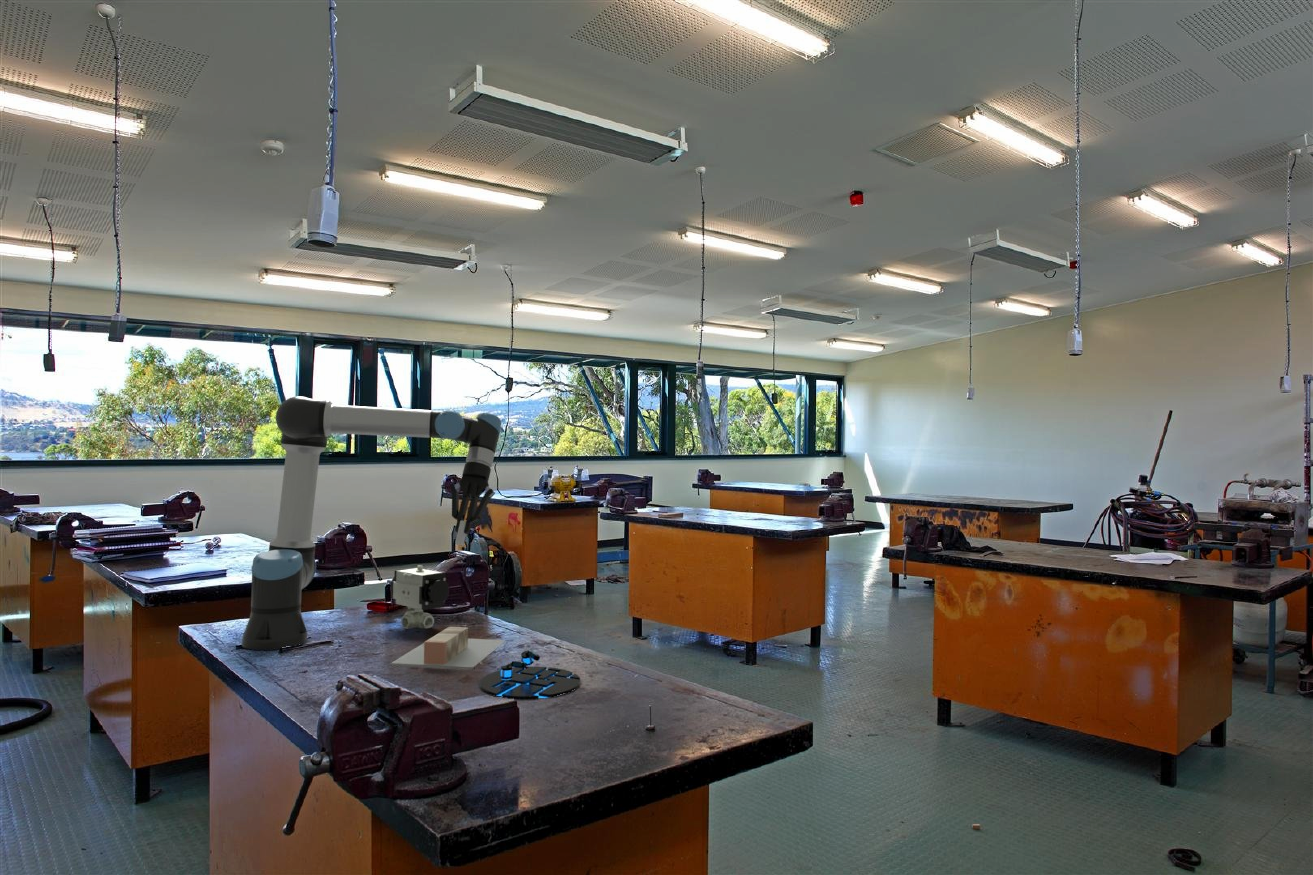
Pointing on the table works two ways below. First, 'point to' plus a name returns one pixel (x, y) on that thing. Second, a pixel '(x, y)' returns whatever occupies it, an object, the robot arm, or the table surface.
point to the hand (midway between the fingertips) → (459, 544)
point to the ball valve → (419, 594)
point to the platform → (528, 680)
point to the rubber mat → (461, 661)
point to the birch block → (445, 645)
